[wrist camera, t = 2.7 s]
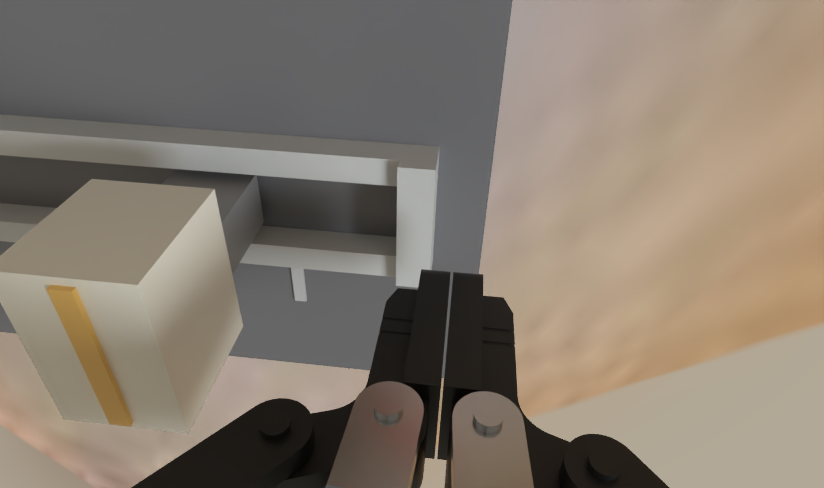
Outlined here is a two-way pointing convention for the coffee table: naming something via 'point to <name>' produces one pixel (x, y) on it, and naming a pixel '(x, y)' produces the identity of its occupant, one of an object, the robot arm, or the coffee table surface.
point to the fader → (134, 295)
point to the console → (271, 139)
